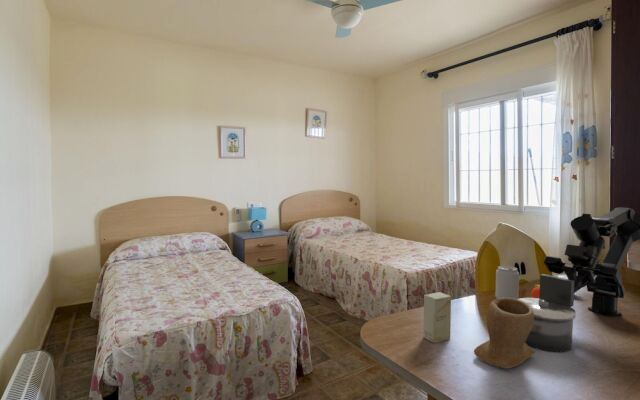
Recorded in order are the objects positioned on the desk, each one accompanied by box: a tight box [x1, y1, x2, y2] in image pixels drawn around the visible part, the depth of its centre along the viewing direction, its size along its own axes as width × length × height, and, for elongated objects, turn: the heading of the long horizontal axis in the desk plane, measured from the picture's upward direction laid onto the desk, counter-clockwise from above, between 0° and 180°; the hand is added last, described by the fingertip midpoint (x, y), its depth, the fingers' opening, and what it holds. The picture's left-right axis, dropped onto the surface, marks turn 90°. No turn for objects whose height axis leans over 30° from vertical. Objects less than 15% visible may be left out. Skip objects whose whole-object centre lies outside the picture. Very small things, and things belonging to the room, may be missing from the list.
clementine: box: [529, 284, 540, 298], centre depth 122 cm, size 8×7×7 cm
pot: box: [525, 318, 574, 353], centre depth 98 cm, size 13×20×8 cm, turn 31°
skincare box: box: [423, 291, 452, 344], centre depth 97 cm, size 6×4×12 cm
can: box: [494, 265, 520, 299], centre depth 128 cm, size 8×8×12 cm
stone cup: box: [473, 297, 535, 369], centre depth 85 cm, size 15×12×15 cm
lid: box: [518, 273, 577, 321], centre depth 95 cm, size 14×14×8 cm
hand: (570, 293), depth 103 cm, fingers closed
